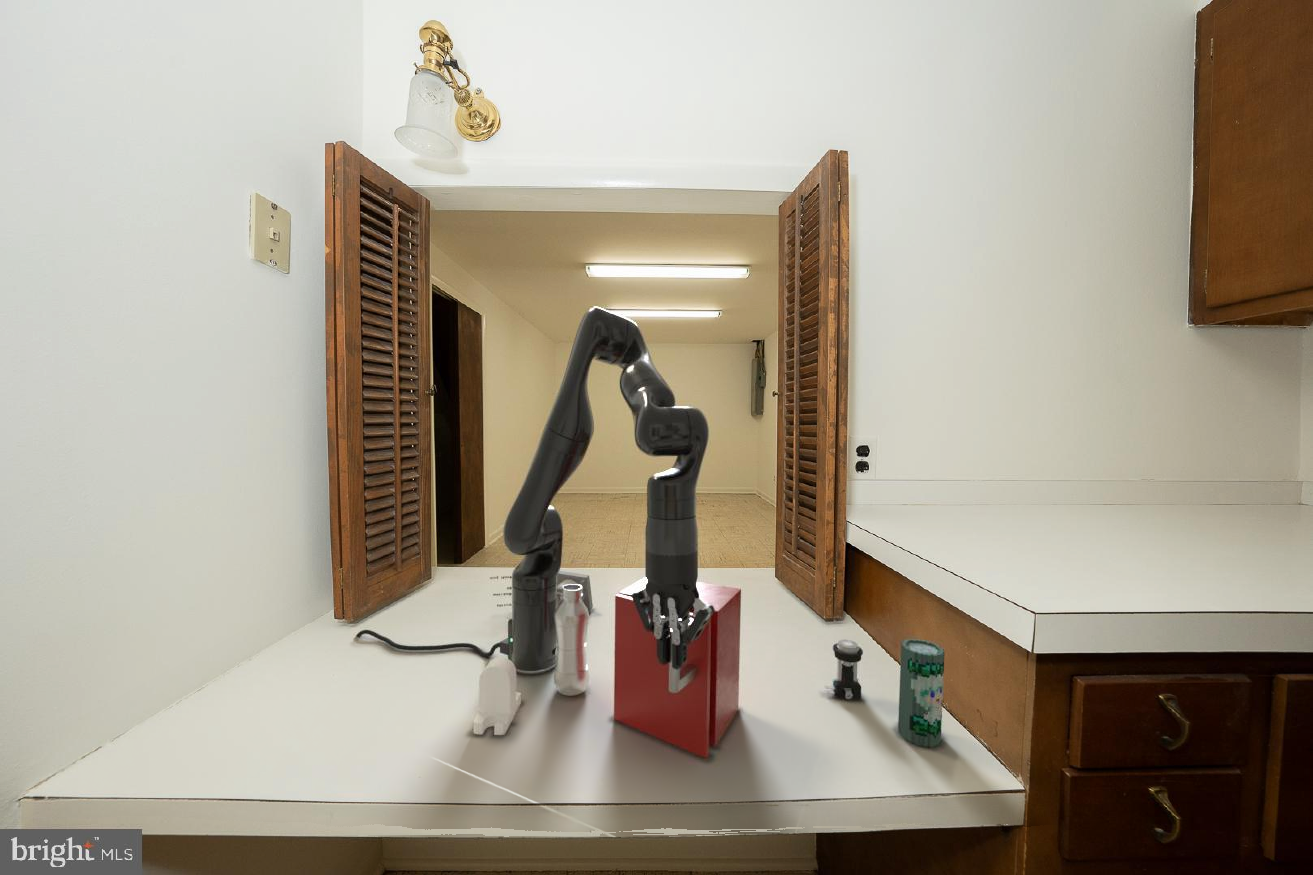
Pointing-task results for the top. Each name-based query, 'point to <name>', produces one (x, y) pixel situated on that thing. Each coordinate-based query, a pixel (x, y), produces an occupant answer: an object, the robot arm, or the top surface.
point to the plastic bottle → (571, 642)
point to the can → (921, 692)
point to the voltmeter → (567, 579)
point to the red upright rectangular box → (718, 652)
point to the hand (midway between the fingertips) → (671, 664)
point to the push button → (846, 670)
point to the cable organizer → (497, 696)
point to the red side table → (661, 683)
